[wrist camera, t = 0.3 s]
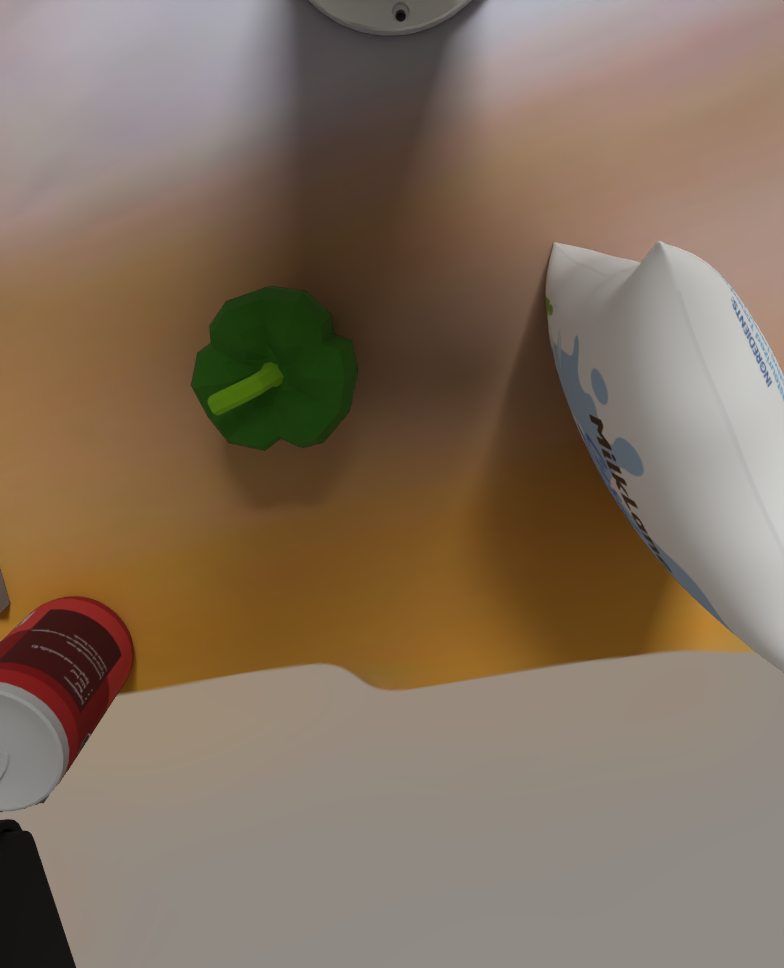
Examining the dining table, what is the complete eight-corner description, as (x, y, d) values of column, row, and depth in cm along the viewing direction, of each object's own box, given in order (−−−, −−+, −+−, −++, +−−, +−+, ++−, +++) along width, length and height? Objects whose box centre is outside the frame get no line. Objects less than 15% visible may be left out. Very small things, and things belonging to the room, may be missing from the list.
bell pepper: (358, 278, 41) (343, 285, 32) (367, 419, 44) (356, 465, 34) (212, 286, 41) (154, 296, 32) (230, 426, 44) (181, 474, 34)
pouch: (624, 206, 40) (826, 161, 21) (731, 501, 45) (971, 684, 26) (491, 271, 41) (566, 285, 22) (610, 551, 46) (754, 762, 27)
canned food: (33, 695, 50) (-66, 812, 40) (15, 591, 48) (-95, 686, 37) (143, 697, 50) (73, 815, 39) (131, 592, 47) (53, 688, 37)
